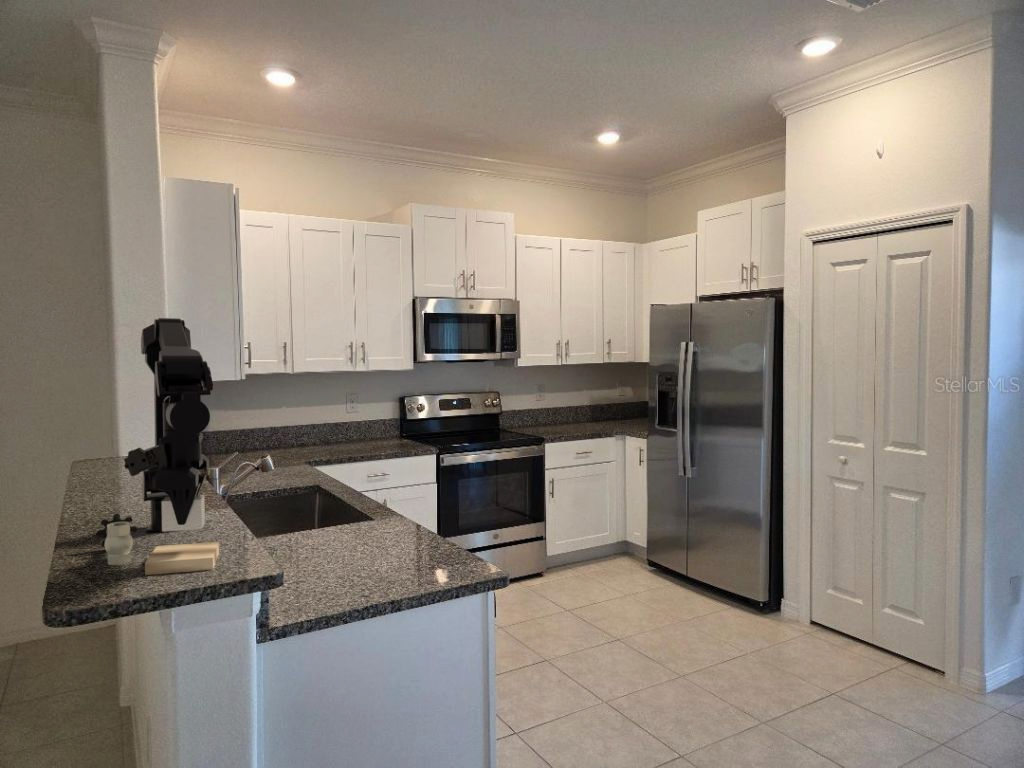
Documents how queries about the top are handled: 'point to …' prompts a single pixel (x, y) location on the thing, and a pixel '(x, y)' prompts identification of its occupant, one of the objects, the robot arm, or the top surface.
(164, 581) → the top surface
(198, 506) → the aluminium block
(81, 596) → the top surface
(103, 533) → the valve
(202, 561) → the oak plate
